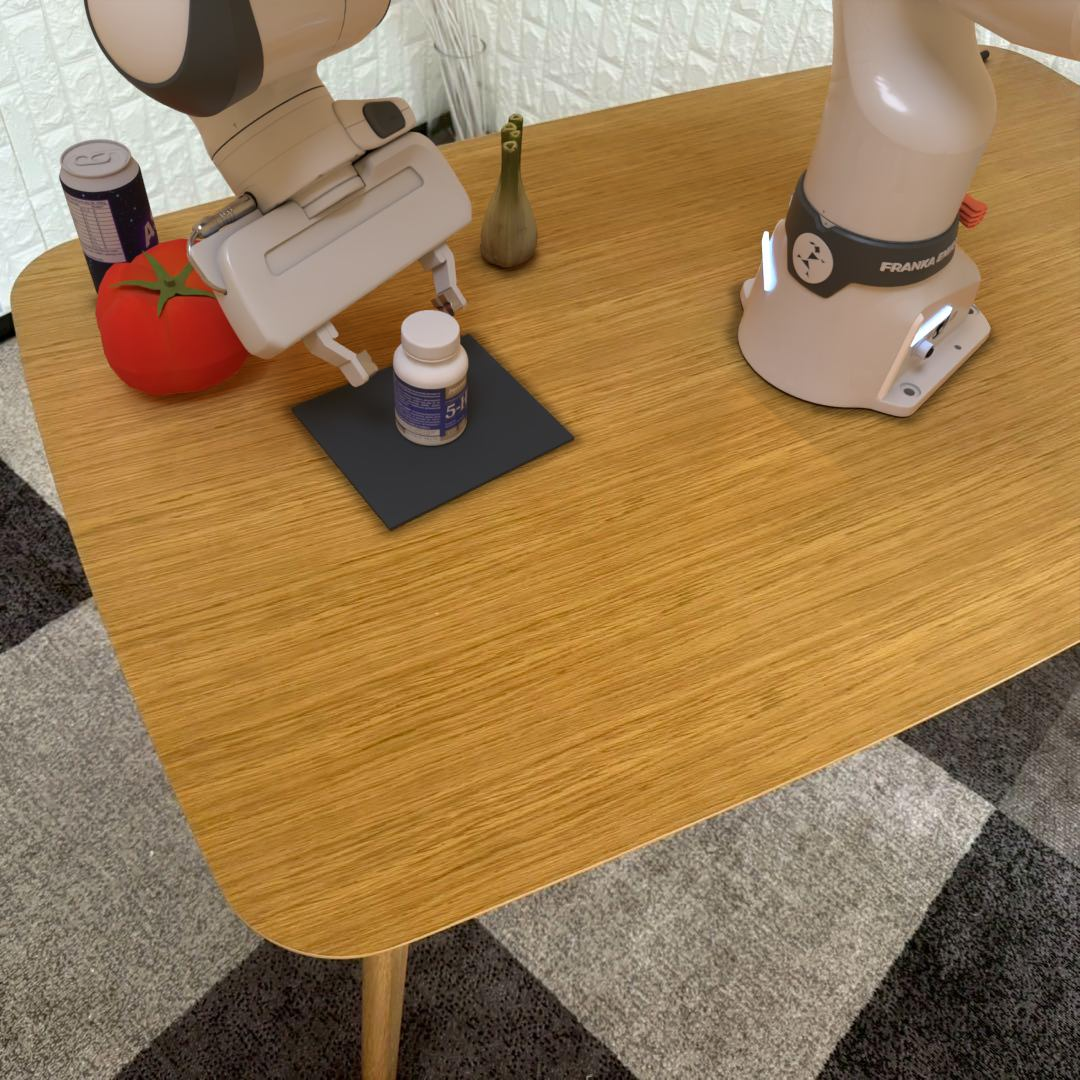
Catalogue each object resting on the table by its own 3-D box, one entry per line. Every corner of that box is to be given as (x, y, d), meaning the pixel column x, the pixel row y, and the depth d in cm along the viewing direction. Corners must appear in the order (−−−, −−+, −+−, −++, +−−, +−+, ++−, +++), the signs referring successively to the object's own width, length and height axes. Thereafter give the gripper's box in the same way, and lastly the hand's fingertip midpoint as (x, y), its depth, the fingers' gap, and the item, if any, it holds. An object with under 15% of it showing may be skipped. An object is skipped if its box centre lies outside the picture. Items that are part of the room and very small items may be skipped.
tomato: (189, 289, 84) (167, 197, 77) (305, 351, 80) (292, 259, 73) (65, 371, 77) (29, 278, 70) (185, 443, 73) (159, 351, 66)
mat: (468, 336, 83) (468, 333, 82) (574, 439, 76) (574, 437, 76) (290, 410, 76) (290, 407, 76) (390, 531, 69) (389, 528, 69)
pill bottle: (458, 453, 74) (459, 360, 67) (387, 441, 74) (381, 346, 67) (473, 404, 77) (476, 310, 70) (406, 392, 77) (402, 297, 71)
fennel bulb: (503, 231, 92) (509, 104, 83) (549, 251, 91) (560, 123, 81) (466, 262, 89) (468, 133, 79) (514, 283, 87) (521, 154, 78)
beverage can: (174, 308, 82) (139, 173, 73) (99, 318, 81) (54, 182, 71) (167, 266, 85) (133, 132, 76) (96, 275, 84) (52, 140, 75)
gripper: (189, 217, 59) (328, 416, 63) (421, 89, 70) (526, 266, 74) (154, 251, 64) (286, 434, 68) (376, 127, 75) (477, 291, 79)
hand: (413, 345), depth 71 cm, fingers open, 8 cm apart
